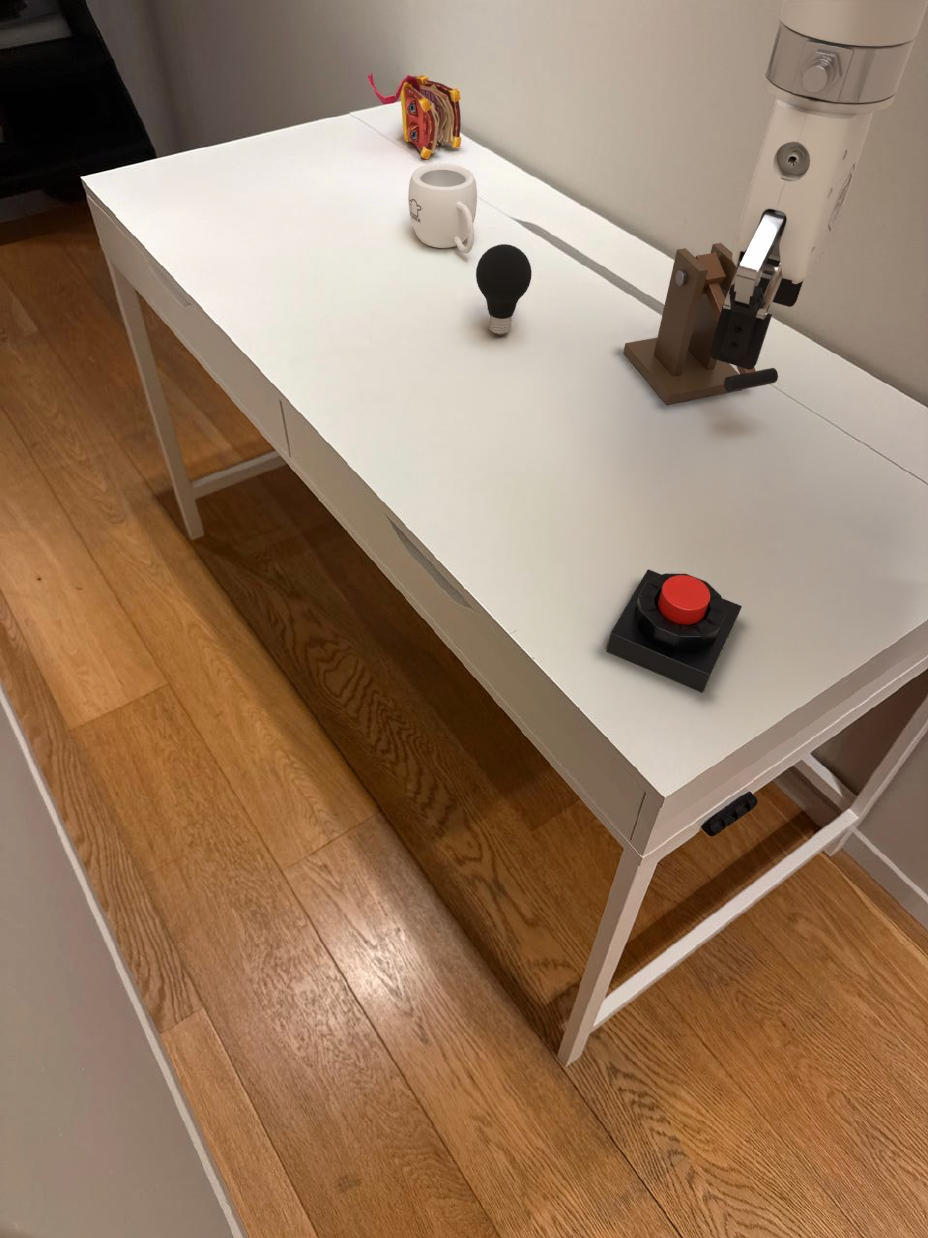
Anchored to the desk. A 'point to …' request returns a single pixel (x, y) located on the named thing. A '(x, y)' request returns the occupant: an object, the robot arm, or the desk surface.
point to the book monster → (427, 112)
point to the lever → (716, 301)
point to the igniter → (672, 634)
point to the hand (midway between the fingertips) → (753, 329)
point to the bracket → (685, 335)
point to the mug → (443, 205)
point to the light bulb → (503, 283)
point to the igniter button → (683, 599)
